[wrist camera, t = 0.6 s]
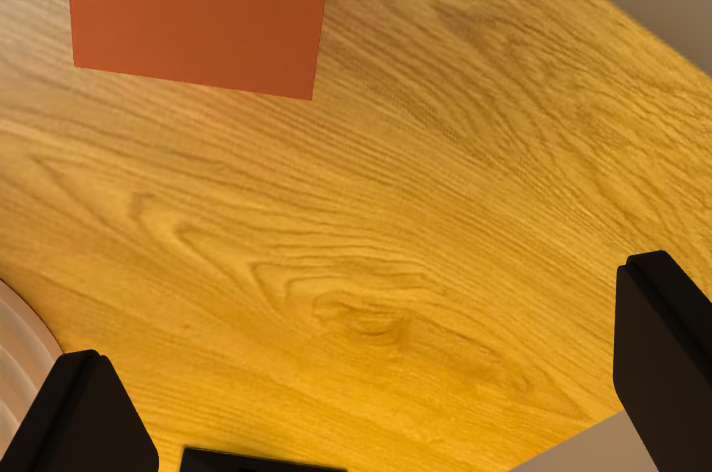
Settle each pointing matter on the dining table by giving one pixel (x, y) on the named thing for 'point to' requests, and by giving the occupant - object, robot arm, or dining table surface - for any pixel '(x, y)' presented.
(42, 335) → the plate stack
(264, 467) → the black mount
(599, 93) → the dining table surface
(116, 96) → the dining table surface
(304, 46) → the orange block
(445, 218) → the dining table surface
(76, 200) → the dining table surface
